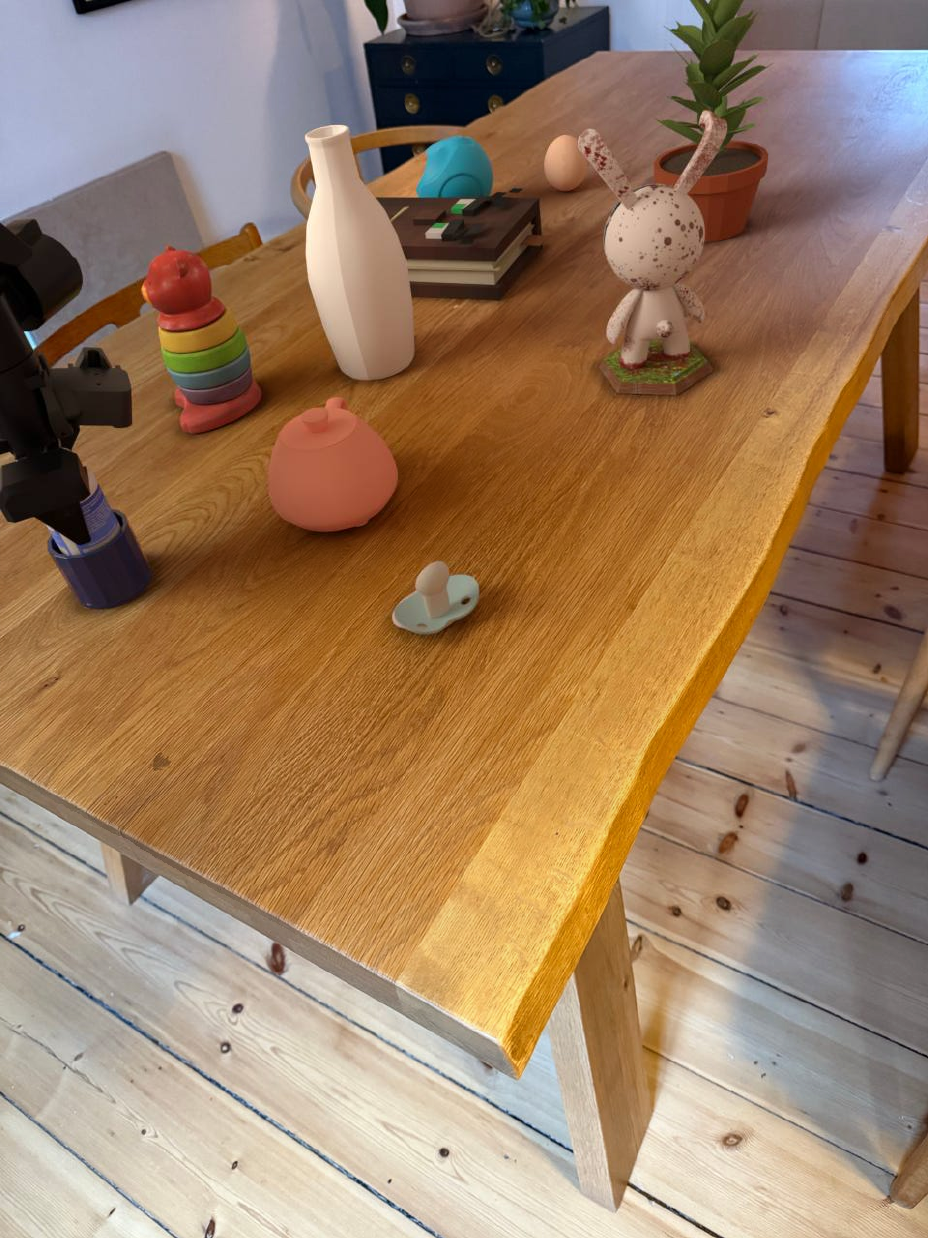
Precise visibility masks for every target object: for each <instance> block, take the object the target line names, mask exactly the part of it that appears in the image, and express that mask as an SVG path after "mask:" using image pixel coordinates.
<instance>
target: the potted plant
mask: <svg viewBox="0 0 928 1238" xmlns="http://www.w3.org/2000/svg"><path fill="white" fill-rule="evenodd" d="M689 1H690V3H691V5H692V6H693V7H694V9H695V10H696V12H697V13H698V15H699V16H700V18H701V20H702V24H701V28H700V27H698V26H696V25H692V24H688V25H686V24H685V25H684V24H683V25H682V24H681V23H680V22H679V21H677V20H675V23H676V25H677V28H671V29H670V28H668V27H666V26H665V25H663V27H664V28H665V29H666V30H668V31H669V32H670V33H672V35H674V36H675V37H677V38H678V39H679V40H681V41H682V42H683V43H685V44H686V45H687V46H688V47H689V49H690V50H691V52H692V53H693V54H694V56H695V57H696V58H697V60H698V61H699V62H694V60H693V59H692V58H691V57H689V62H688V61H687V59H685V58H684V57H683V55H682V54H681V53H680V52H679V51H678V50H677V49H676V48H675V47H674V46H673V45H672V44H670V46H671V47H672V48H673V49H674V51H675V52H676V53H677V54H678V55H679V57H680V58H681V59H682V61H684V63H685V64H686V65H687V66H686V67H685V74H686V81H683V84H685V85H686V86H687V87H688V88H689V90H690V91H691V92H692V94H693V97H694V100H692V99H686V98H683V97H681V96H678V95H677V96H676V95H671V96H667V95H666V97H667V98H669V99H671V100H672V101H674V102H676V103H678V104H680V105H681V106H683V107H685V108H686V109H689V110H690V111H693V112H695V114H696V123H693V122H688V121H676V120H672V119H663V120H659V119H657V118H655V117H653V119H654V120H655V121H657V122H658V123H660V124H661V125H662V126H664V127H666V128H667V129H670V130H671V131H673V132H675V133H677V134H678V135H681V136H682V137H684V138H686V139H688V140H690V141H691V142H694V143H689V144H685V145H681V146H676V147H675V148H672V149H669V150H667V151H665V152H663V153H662V154H660V155H659V156H657V157H656V159H655V160H654V162H653V181H654V184H664V185H669V186H673V187H674V186H675V185H676V183H677V181H678V179H679V178H680V176H681V175H682V173H683V172H684V170H685V168H686V167H687V165H688V164H689V162H690V160H691V159H692V157H693V155H694V153H695V152H696V150H697V148H698V146H699V144H700V142H701V139H702V137H703V135H704V132H705V130H704V129H702V128H701V127H700V126H699V120H700V117H701V114H702V112H703V111H704V110H710V111H711V112H713V113H714V114H715V115H717V116H719V117H721V118H723V119H725V120H726V123H727V133H726V136H725V139H724V141H723V143H722V145H721V147H720V149H719V151H718V152H717V154H716V156H715V157H714V159H713V160H712V162H711V163H710V165H709V166H708V167H707V169H706V170H705V171H704V173H703V174H702V175H701V177H700V178H699V179H698V180H697V182H696V183H695V184H694V186H693V187H692V188H691V189H690V191H689V192H688V193H687V195H689V196H690V197H691V198H692V199H693V201H694V202H695V203H696V205H697V206H698V208H699V210H700V212H701V215H702V218H703V222H704V228H705V238H704V243H710V242H712V243H713V242H719V241H723V240H727V239H731V238H733V237H736V236H737V235H740V233H742V232H743V231H744V230H745V228H746V226H747V222H748V219H749V215H750V212H751V210H752V207H753V203H754V201H755V198H756V194H757V191H758V188H759V185H760V183H761V180H762V179H763V178H764V177H765V176H766V174H767V170H768V164H769V163H768V162H769V153H768V151H767V149H766V148H765V147H763V146H761V145H759V144H756V143H752V142H748V141H742V140H732V138H733V137H734V135H737V134H740V133H742V132H746V131H748V130H750V129H754V128H757V126H756V123H750V124H746V125H743V126H740V125H741V123H742V122H743V120H744V118H745V116H746V112H747V109H749V108H751V107H752V106H754V105H756V104H759V103H760V102H763V101H764V100H766V99H767V98H769V97H771V96H770V95H769V96H766V97H765V98H764V97H762V96H755V97H753V98H751V99H749V100H747V101H746V99H743V101H742V102H740V104H739V105H736V106H731V107H728V94H730V93H731V92H732V91H734V90H735V89H737V88H738V87H740V86H742V85H743V84H745V83H746V82H748V81H749V80H751V79H752V78H753V77H755V76H757V75H758V74H760V73H761V72H763V71H765V70H766V69H768V68H769V67H770V66H772V65H773V64H774V62H772V63H770V64H769V65H767V66H765V65H755V66H753V67H750V68H749V69H747V70H745V68H747V67H748V66H749V65H750V64H751V63H752V62H754V60H755V59H757V58H758V57H759V55H761V52H759V53H758V54H753V55H752V56H750V57H748V58H747V59H744V60H740V61H737V62H735V63H733V62H734V59H735V53H736V51H737V49H738V47H739V45H740V43H741V41H742V40H743V39H744V37H745V36H746V35H747V33H748V32H749V31H750V29H751V28H752V26H753V25H754V24H755V18H756V17H757V15H758V13H759V11H757V12H756V13H755V14H754V10H755V7H753V8H752V9H751V10H750V11H749V12H748V13H746V14H743V15H740V16H737V14H738V12H739V10H740V8H741V7H742V4H743V3H744V1H745V0H709V2H708V1H707V0H689ZM752 15H753V16H752ZM743 70H745V71H744V72H743V73H740V72H742V71H743ZM737 75H738V76H737ZM697 129H698V130H699V131H700V132H699V131H697Z"/></svg>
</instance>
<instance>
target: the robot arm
mask: <svg viewBox="0 0 928 1238" xmlns="http://www.w3.org/2000/svg"><path fill="white" fill-rule="evenodd" d="M83 285H84V274H83V271H82V268H81V265H80V263H79V260H78V259H77V257H75V256H73V255H72V253H71V252H70V251H69V249H68V248H66V246H64V244H62V243H61V242H60V241H58V240H57V239H55V238H54V237H52V236H50V235H47V234H46V233H44V232H43V231H42V229H41V227H40V224H39V223H38V220H37V219H35V218H27V219H14V220H12V221H11V222H9V223H8V224H6V225H5V224H3V223H2V222H0V456H1V455H4V454H7V453H10V454H11V455H12V456H13V457H14V461H12V462H9V463H6V464H2V465H0V512H1V513H2V516H3V517H4V519H5V520H6V522H7V523H13V524H17V523H20V522H23V521H26V520H29V519H32V518H33V519H36V520H38V521H39V522H41V523H43V524H44V525H45V524H46V525H48V526H49V527H51V528H52V529H54V530H55V531H57V532H58V533H60V534H62V535H63V536H65V537H66V538H68V539H69V540H71V541H72V542H74V543H75V544H77V545H83V544H86V543H89V542H90V541H91V538H90V534H89V531H88V527H87V523H86V520H85V516H84V513H83V509H82V506H81V502H82V501H84V500H85V499H86V498H87V497H89V496H90V495H91V494H90V488H89V479H88V473H87V470H88V468H87V466H86V465H85V466H84V464H83V462H82V461H81V458H80V456H79V454H78V453H77V452H74V451H73V447H74V446H75V443H76V441H77V439H78V436H79V434H80V432H81V426H82V427H92V426H93V427H113V428H114V429H126V428H129V427H131V426H132V425H133V396H132V395H133V394H132V393H133V392H132V389H133V388H132V384H131V381H130V377H129V374H128V372H127V371H126V370H125V369H123V368H122V367H121V365H120V364H115V365H114V367H113V366H112V362H111V361H110V360H109V358H108V356H107V355H106V353H105V351H104V350H103V348H101V347H92V346H91V347H89V346H84V347H82V349H81V351H80V353H79V355H78V357H77V358H76V360H75V363H74V364H73V363H67V367H51V365H50V363H49V362H48V359H47V358H46V356H45V353H42V354H40V351H39V350H38V349H36V350H34V349H33V347H32V345H31V343H30V341H29V338H28V336H27V334H26V332H27V333H29V332H33V331H36V330H39V329H40V328H41V327H43V326H44V325H45V324H46V323H47V322H49V320H50V319H52V318H53V317H54V316H55V315H57V314H58V313H59V312H61V310H62V309H64V308H65V307H66V306H67V305H68V304H70V303H71V302H72V301H73V300H74V299H75V298H76V297H78V296H79V295H80V293H81V291H82V289H83ZM63 448H67V449H69V450H70V451H69V450H66V449H63ZM46 525H45V526H46Z"/></svg>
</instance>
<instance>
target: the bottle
mask: <svg viewBox="0 0 928 1238" xmlns="http://www.w3.org/2000/svg"><path fill="white" fill-rule="evenodd" d="M350 131H351V130H350V128H349V126H348V125H344V124H331V125H324V126H321V127H317V128H314V129H313V130H310V131H308V132H307V133H306V134H305V135H304V140H305V142H306V143H307V145H308V148H309V149H308V150H309V154H310V160H311V166H312V171H313V177H314V183H315V190H314V194H313V198H312V202H311V206H310V210H309V215H308V219H307V223H306V233H305V262H306V271H307V279H308V280H307V281H308V285H309V288H310V290H311V294H312V297H313V300H314V303H315V304H314V305H315V307H316V310H317V313H318V316H319V320H320V323H321V327H322V329H323V332H324V334H325V336H326V338H327V341H328V343H329V346H330V348H331V350H332V353H333V355H334V357H335V360H336V361H337V364H338V367H339V369H340V371H341V372H342V373H343V374H344V375H346V376H347V377H349V378H351V379H354V380H358V381H367V382H368V381H378V380H383V379H387V378H390V377H393V376H395V375H397V374H399V373H401V372H402V371H404V370H405V369H407V368H408V367H409V366H410V364H411V363H412V361H413V360H414V357H415V333H414V332H415V328H414V327H415V325H414V306H413V299H412V296H411V291H410V283H409V276H408V268H407V261H406V258H405V255H404V253H403V250H402V247H401V244H400V241H399V238H398V235H397V233H396V231H395V229H394V227H393V225H392V223H391V221H390V219H389V217H388V215H387V213H386V212H385V210H384V208H383V207H382V206H381V205H380V203H379V202H378V201H377V199H376V197H375V196H374V194H373V193H372V192H371V190H370V189H369V188H368V186H366V184H365V183H364V182H363V180H362V179H361V178H360V174H359V170H358V167H357V163H356V159H355V156H354V150H353V147H352V143H351V139H350V133H351V132H350Z"/></svg>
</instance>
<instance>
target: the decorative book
mask: <svg viewBox="0 0 928 1238" xmlns="http://www.w3.org/2000/svg"><path fill="white" fill-rule="evenodd" d="M524 189H525V188H523V187H520V188H519V187H513V188H511V189H510V190H509V191H508V192H507V191H496V192H495V193H493V194H492V195H490V196H479V197H478V198H450V197H418V196H417V197H416V196H415V197H413V196H410V197H407V196H406V197H405V196H403V197H401V196H398V197H396V196H395V197H394V196H393V197H392V196H390V197H388V196H387V197H385V196H382V197H380V196H377V197H375V198H376V199H377V201H378V202H379V203H380V205H381V206H382V207H383V208H384V210H385V212H386V213H387V215H388V217H389V219H390V221H391V223H392V225H393V227H394V229H395V231H396V233H397V235H398V238H399V241H400V244H401V247H402V250H403V253H404V255H405V258H406V261H407V268H408V276H409V283H410V291H411V297H417V298H437V299H456V300H457V299H459V300H478V301H481V300H483V301H501V300H502V299H503V298H504V296H505V295H506V294H507V293H508V291H509V290H510V289H511V288H512V286H513V285H514V284H515V283H516V281H517V280H518V279H519V277H521V275H522V274H523V273H524V271H525V270H526V269H527V268H528V267H529V266H530V264H531V263H532V262H533V260H534V259H535V258H536V256H537V255H538V254H539V253H540V252H541V251H542V250H543V247H544V244H543V243H544V242H545V241H546V240H547V239H548V238H549V237H550V235H544V234H543V230H542V217H541V205H540V197H510V196H509V197H508V196H506V194H509V193H511V194H519V193H521V192H522V191H523V190H524Z"/></svg>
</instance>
